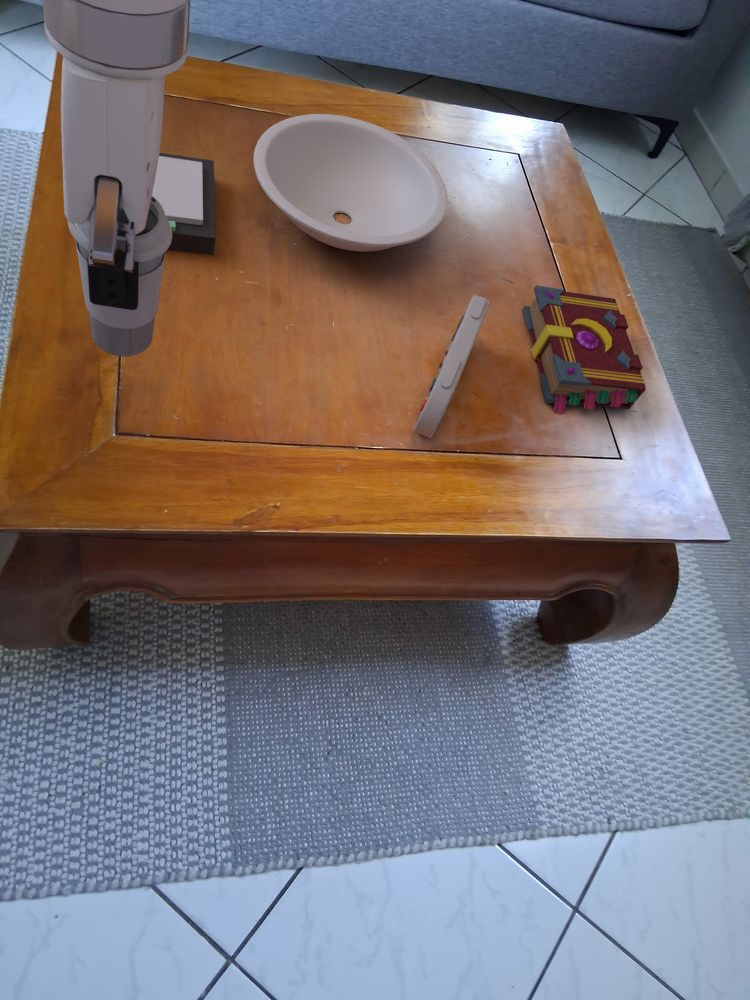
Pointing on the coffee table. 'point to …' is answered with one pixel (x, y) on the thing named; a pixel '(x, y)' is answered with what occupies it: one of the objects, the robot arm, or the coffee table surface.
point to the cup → (135, 327)
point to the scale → (187, 201)
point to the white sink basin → (350, 181)
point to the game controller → (451, 367)
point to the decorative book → (582, 350)
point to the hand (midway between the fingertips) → (121, 265)
